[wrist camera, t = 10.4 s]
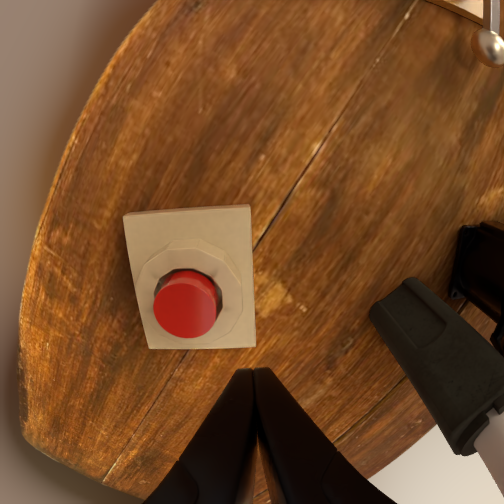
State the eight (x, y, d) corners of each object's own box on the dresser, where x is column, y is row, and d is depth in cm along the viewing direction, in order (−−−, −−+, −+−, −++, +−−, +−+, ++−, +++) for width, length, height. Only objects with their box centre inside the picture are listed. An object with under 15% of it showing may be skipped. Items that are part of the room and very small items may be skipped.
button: (220, 322, 18) (219, 338, 17) (165, 323, 18) (159, 338, 17) (215, 269, 17) (212, 281, 16) (155, 271, 17) (147, 284, 16)
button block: (255, 337, 22) (257, 363, 19) (152, 340, 22) (142, 364, 19) (249, 203, 19) (251, 213, 16) (128, 212, 19) (111, 223, 16)
